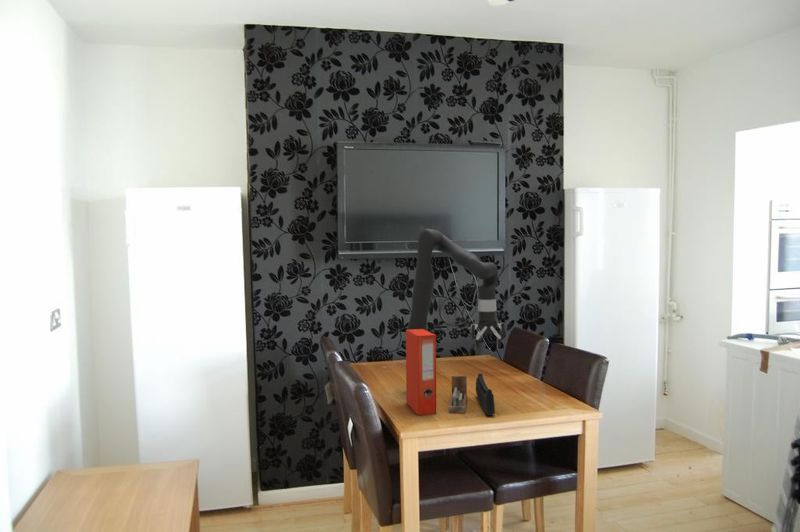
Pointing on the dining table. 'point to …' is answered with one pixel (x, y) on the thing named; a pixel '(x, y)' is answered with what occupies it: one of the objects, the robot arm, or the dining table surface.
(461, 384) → the rack
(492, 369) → the dining table surface
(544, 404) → the dining table surface
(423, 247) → the robot arm
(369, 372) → the dining table surface
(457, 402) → the offcut stack
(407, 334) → the file binder
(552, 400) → the dining table surface
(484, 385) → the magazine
